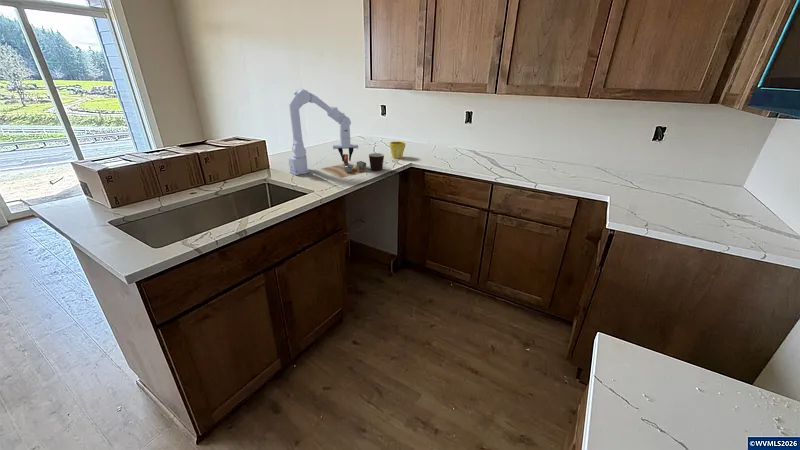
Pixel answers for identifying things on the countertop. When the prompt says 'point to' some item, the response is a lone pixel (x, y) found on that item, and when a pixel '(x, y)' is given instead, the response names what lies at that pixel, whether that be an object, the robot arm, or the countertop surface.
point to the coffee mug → (376, 161)
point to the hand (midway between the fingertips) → (346, 160)
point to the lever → (347, 164)
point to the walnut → (356, 167)
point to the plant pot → (397, 149)
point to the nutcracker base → (341, 172)
